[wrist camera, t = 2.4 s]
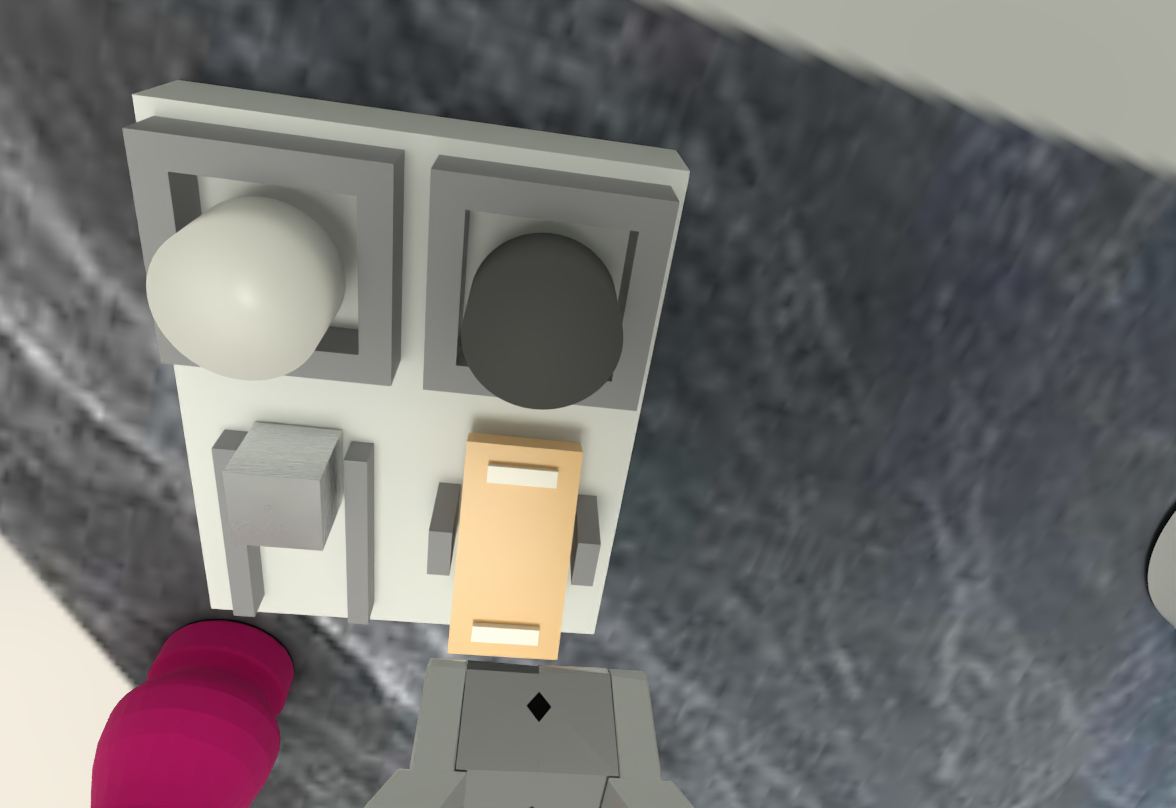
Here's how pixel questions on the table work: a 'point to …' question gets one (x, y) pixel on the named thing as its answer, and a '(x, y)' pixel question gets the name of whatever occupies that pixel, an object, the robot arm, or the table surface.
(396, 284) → the console
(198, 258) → the white button
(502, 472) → the amber rocker
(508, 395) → the black button
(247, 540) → the metal slider knob
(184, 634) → the pepper mill
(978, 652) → the table surface
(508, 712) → the robot arm
